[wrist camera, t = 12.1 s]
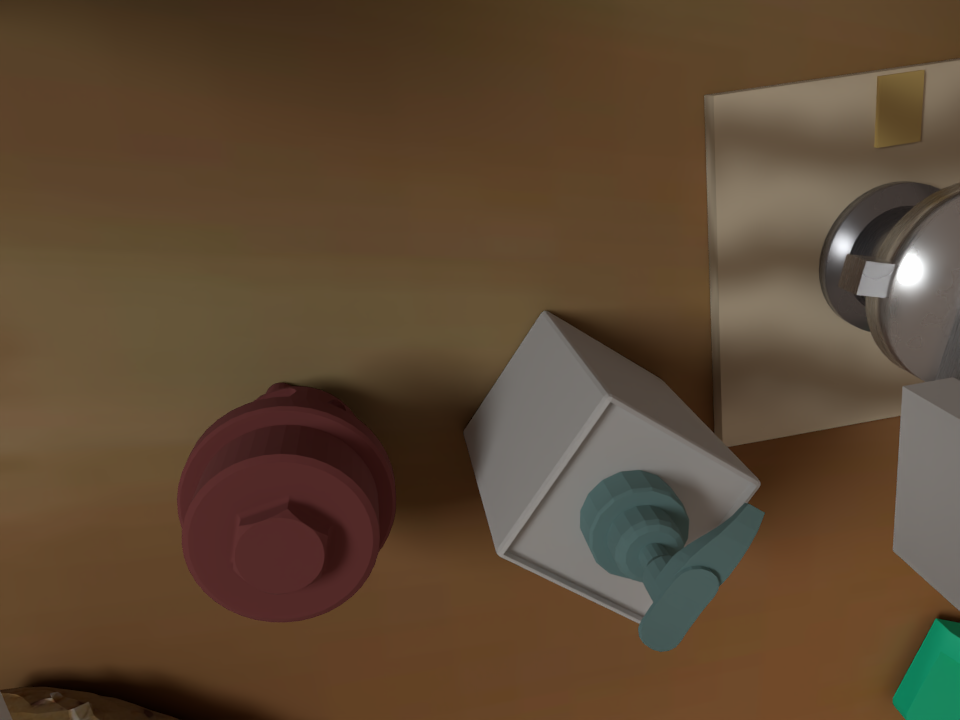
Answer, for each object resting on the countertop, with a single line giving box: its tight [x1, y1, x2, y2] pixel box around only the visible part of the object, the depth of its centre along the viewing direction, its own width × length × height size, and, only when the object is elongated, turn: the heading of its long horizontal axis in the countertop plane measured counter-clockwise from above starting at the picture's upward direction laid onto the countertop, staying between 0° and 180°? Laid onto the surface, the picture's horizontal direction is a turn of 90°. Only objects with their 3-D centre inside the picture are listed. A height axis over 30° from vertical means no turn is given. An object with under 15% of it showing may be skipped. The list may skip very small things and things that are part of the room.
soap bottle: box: [463, 311, 765, 652], centre depth 38 cm, size 9×9×19 cm
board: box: [704, 58, 960, 447], centre depth 46 cm, size 20×20×2 cm
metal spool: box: [819, 181, 941, 332], centre depth 43 cm, size 8×8×6 cm
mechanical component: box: [177, 383, 396, 622], centre depth 40 cm, size 12×10×10 cm
